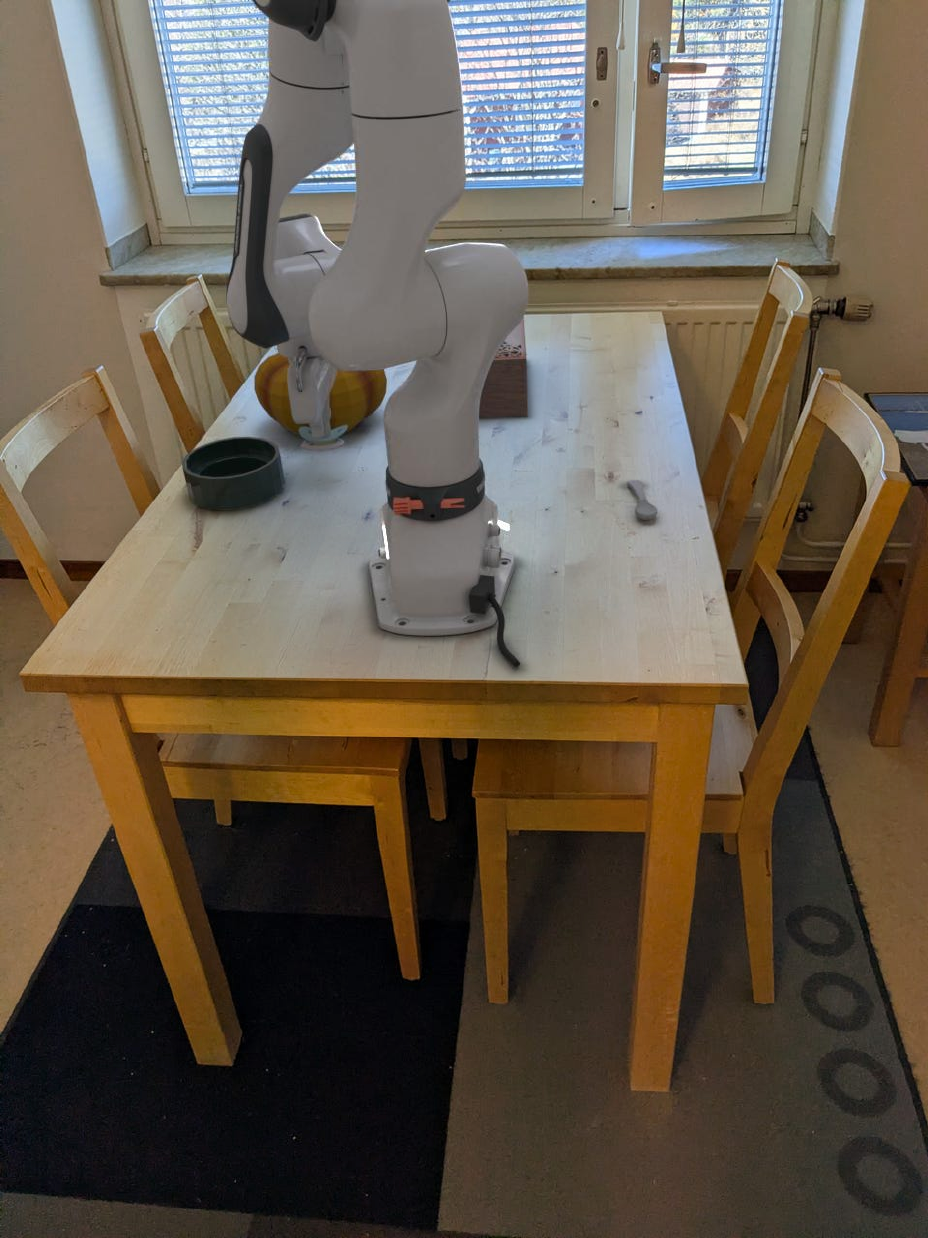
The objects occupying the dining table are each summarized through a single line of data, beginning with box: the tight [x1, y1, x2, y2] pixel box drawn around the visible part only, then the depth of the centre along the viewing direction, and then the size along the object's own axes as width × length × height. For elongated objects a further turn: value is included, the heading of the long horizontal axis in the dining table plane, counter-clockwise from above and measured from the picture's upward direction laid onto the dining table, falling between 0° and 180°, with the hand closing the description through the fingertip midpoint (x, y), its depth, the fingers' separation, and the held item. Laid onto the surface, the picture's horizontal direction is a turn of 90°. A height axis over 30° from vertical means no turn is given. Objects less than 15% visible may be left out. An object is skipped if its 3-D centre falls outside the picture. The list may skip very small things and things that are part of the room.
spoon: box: [626, 479, 658, 521], centre depth 137 cm, size 3×12×2 cm, turn 2°
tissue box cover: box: [479, 316, 529, 420], centre depth 173 cm, size 26×14×10 cm, turn 178°
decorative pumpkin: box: [253, 352, 388, 437], centre depth 163 cm, size 20×22×15 cm
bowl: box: [181, 436, 286, 511], centre depth 146 cm, size 14×14×6 cm
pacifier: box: [299, 404, 348, 452], centre depth 144 cm, size 7×6×6 cm
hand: (321, 428), depth 146 cm, fingers closed on pacifier, 3 cm apart
